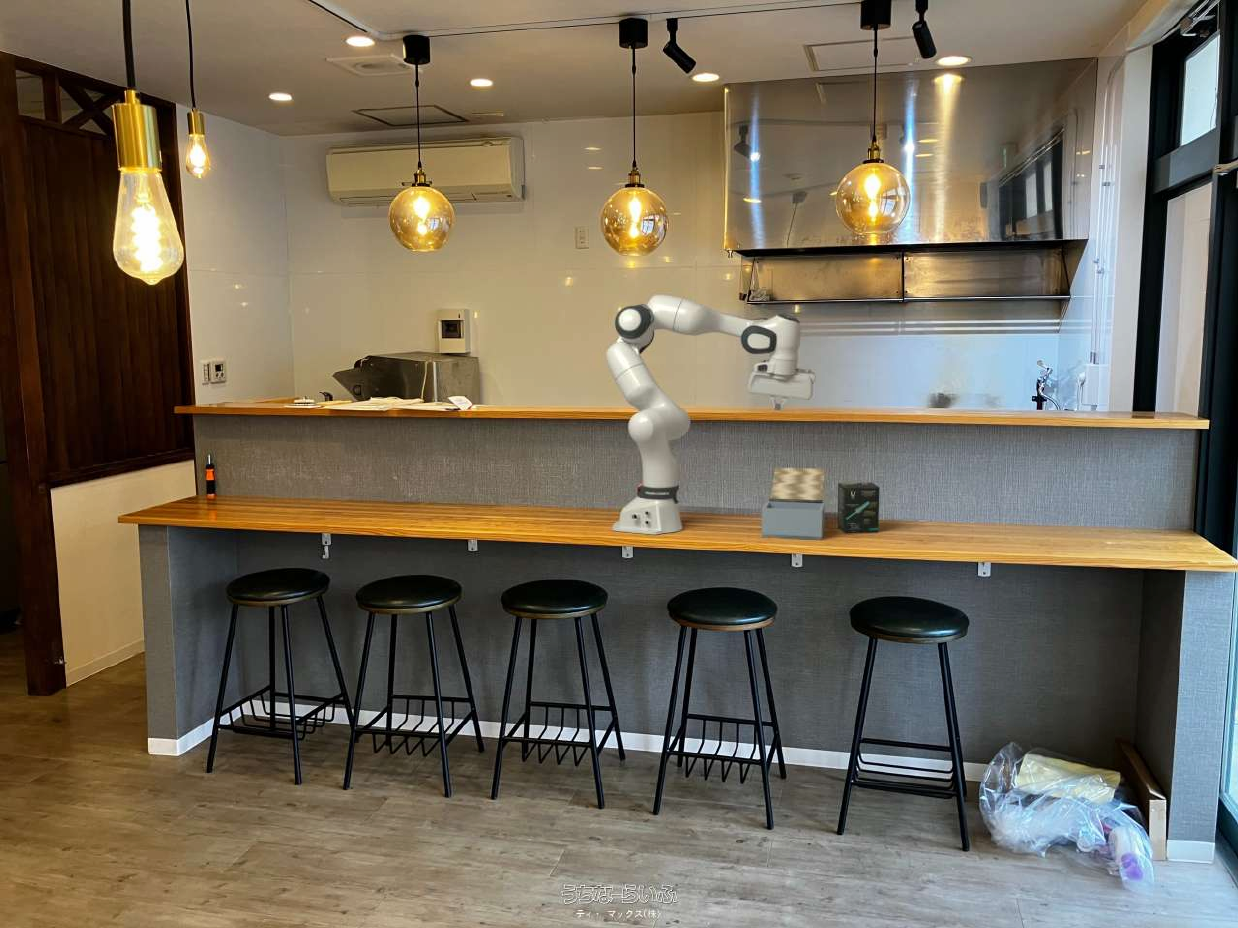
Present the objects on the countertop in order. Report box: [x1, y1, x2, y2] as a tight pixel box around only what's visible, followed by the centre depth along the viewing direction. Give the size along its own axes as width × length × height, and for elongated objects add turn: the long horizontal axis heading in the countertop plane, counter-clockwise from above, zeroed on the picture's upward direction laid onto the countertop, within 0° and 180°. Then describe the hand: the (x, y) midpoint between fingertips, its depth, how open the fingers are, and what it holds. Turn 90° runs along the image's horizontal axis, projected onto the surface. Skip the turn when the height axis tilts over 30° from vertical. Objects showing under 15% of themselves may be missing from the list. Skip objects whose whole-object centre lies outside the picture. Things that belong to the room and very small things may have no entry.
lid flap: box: [768, 467, 826, 504], centre depth 307 cm, size 17×1×17 cm
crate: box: [761, 500, 826, 541], centre depth 295 cm, size 18×12×9 cm, turn 74°
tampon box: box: [837, 481, 880, 534], centre depth 300 cm, size 11×9×15 cm
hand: (777, 409), depth 303 cm, fingers closed
